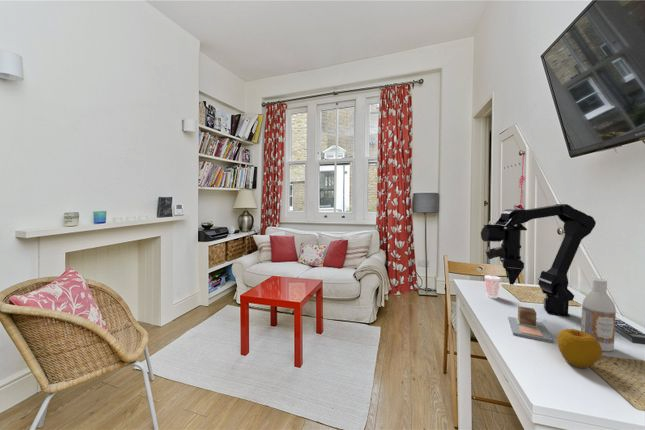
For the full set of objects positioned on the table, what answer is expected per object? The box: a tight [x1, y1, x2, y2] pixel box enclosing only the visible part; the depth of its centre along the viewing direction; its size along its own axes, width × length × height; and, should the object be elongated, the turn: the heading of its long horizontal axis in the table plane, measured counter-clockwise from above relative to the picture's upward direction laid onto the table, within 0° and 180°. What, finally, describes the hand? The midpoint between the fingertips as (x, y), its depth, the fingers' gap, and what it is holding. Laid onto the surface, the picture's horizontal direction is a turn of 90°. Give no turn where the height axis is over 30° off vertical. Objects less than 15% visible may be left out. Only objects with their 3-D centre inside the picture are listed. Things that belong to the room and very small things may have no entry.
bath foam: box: [580, 278, 617, 352], centre depth 80 cm, size 7×7×20 cm
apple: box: [556, 328, 603, 369], centre depth 72 cm, size 8×8×9 cm
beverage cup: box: [483, 265, 501, 299], centre depth 123 cm, size 6×6×14 cm
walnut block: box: [517, 305, 537, 326], centre depth 94 cm, size 4×4×4 cm
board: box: [507, 316, 554, 343], centre depth 91 cm, size 10×14×1 cm
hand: (510, 281), depth 106 cm, fingers open, 9 cm apart
